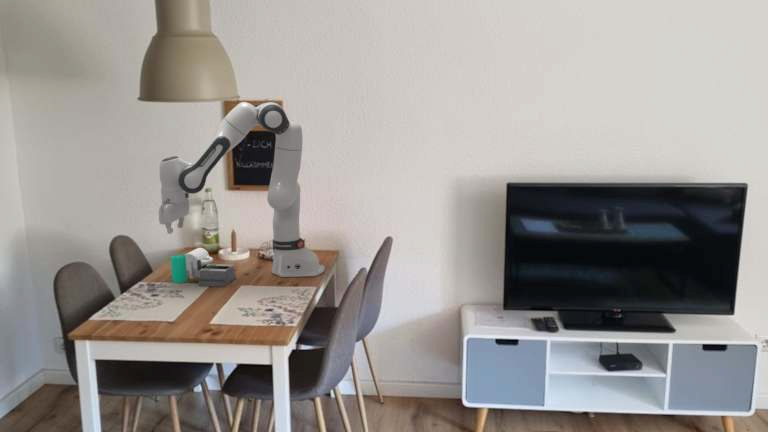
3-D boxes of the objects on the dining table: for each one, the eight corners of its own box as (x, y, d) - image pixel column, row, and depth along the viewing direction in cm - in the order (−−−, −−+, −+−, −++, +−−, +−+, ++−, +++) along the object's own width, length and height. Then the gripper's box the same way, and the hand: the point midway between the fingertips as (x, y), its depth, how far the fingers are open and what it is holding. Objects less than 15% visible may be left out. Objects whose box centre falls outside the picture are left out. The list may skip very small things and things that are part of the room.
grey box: (235, 277, 311) (234, 263, 309) (224, 286, 299) (223, 271, 298) (210, 277, 313) (209, 262, 311) (199, 285, 301) (197, 271, 300)
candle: (189, 278, 312) (187, 250, 309) (184, 282, 306) (182, 254, 303) (175, 278, 312) (173, 250, 310) (170, 282, 306) (167, 254, 304)
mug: (182, 270, 323) (180, 253, 321) (194, 264, 332) (192, 247, 331) (206, 272, 320) (205, 254, 318) (218, 266, 329) (217, 248, 327)
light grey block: (216, 274, 309) (215, 258, 307) (210, 279, 303) (209, 262, 301) (195, 274, 310) (194, 258, 309) (189, 278, 305) (188, 262, 303)
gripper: (168, 202, 291) (171, 236, 294) (190, 192, 310) (193, 224, 313) (153, 202, 292) (156, 236, 295) (176, 192, 312) (179, 224, 315)
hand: (175, 230), depth 304 cm, fingers open, 8 cm apart
